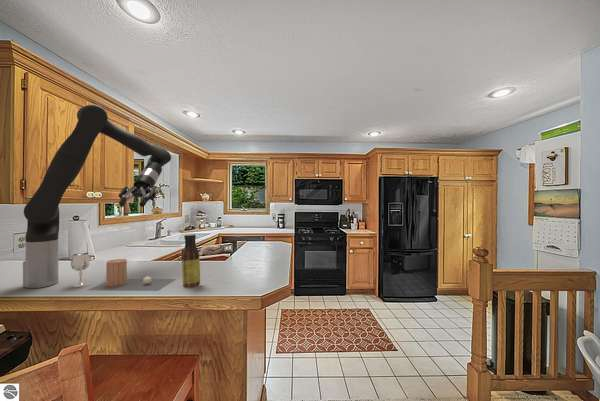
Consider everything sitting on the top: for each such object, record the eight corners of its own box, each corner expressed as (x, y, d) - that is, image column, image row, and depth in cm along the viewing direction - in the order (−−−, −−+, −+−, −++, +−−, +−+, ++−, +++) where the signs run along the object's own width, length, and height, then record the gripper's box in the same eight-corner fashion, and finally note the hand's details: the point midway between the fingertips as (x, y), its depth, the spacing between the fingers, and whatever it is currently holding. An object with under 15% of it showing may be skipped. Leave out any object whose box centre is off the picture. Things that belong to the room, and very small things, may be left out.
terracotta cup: (102, 286, 101) (102, 262, 101) (114, 281, 107) (114, 258, 107) (119, 286, 101) (119, 262, 101) (130, 281, 107) (130, 259, 107)
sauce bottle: (203, 284, 105) (203, 234, 105) (190, 289, 99) (191, 236, 99) (191, 282, 108) (191, 233, 108) (178, 287, 102) (178, 235, 102)
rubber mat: (86, 291, 97) (86, 290, 97) (113, 279, 111) (113, 278, 111) (158, 292, 97) (158, 290, 97) (176, 280, 111) (176, 279, 111)
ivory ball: (141, 285, 102) (141, 277, 102) (145, 283, 105) (145, 275, 105) (148, 285, 102) (148, 277, 102) (153, 283, 105) (153, 275, 105)
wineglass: (79, 288, 100) (79, 256, 100) (66, 286, 102) (66, 255, 102) (93, 283, 106) (93, 253, 106) (82, 282, 107) (82, 252, 107)
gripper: (127, 173, 121) (109, 199, 110) (159, 173, 121) (144, 199, 109) (135, 186, 126) (118, 211, 115) (165, 186, 126) (151, 211, 115)
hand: (130, 205), depth 112 cm, fingers open, 8 cm apart
